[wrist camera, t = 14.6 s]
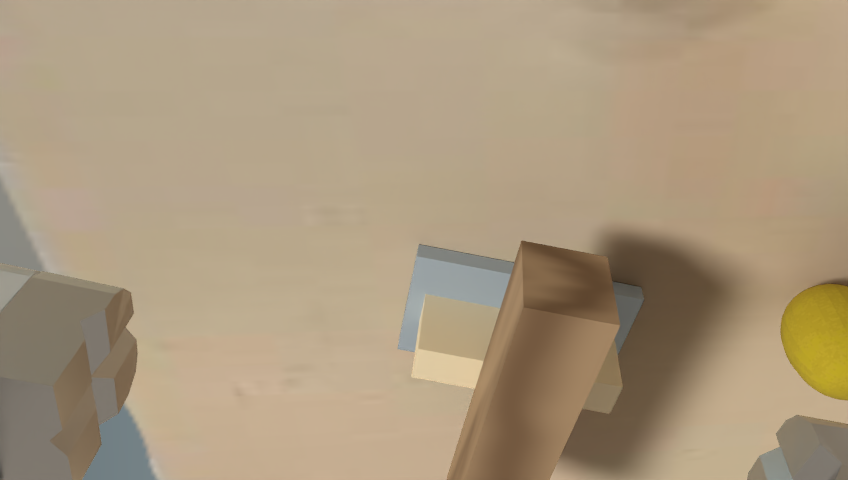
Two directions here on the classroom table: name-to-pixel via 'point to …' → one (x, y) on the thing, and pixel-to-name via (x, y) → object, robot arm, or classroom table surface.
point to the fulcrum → (483, 320)
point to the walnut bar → (538, 365)
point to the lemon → (819, 338)
